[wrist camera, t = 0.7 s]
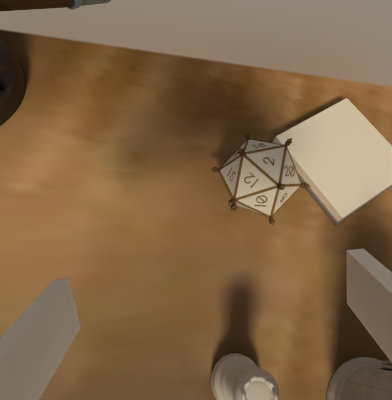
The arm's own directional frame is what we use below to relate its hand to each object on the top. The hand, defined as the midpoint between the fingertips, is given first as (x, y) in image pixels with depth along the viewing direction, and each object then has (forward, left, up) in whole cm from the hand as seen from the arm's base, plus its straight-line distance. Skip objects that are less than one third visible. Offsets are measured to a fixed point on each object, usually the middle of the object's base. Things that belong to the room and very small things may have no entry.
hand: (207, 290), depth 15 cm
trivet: (-5, +25, -16) cm, 30 cm away
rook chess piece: (+7, +1, -17) cm, 18 cm away
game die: (-7, +13, -17) cm, 22 cm away
